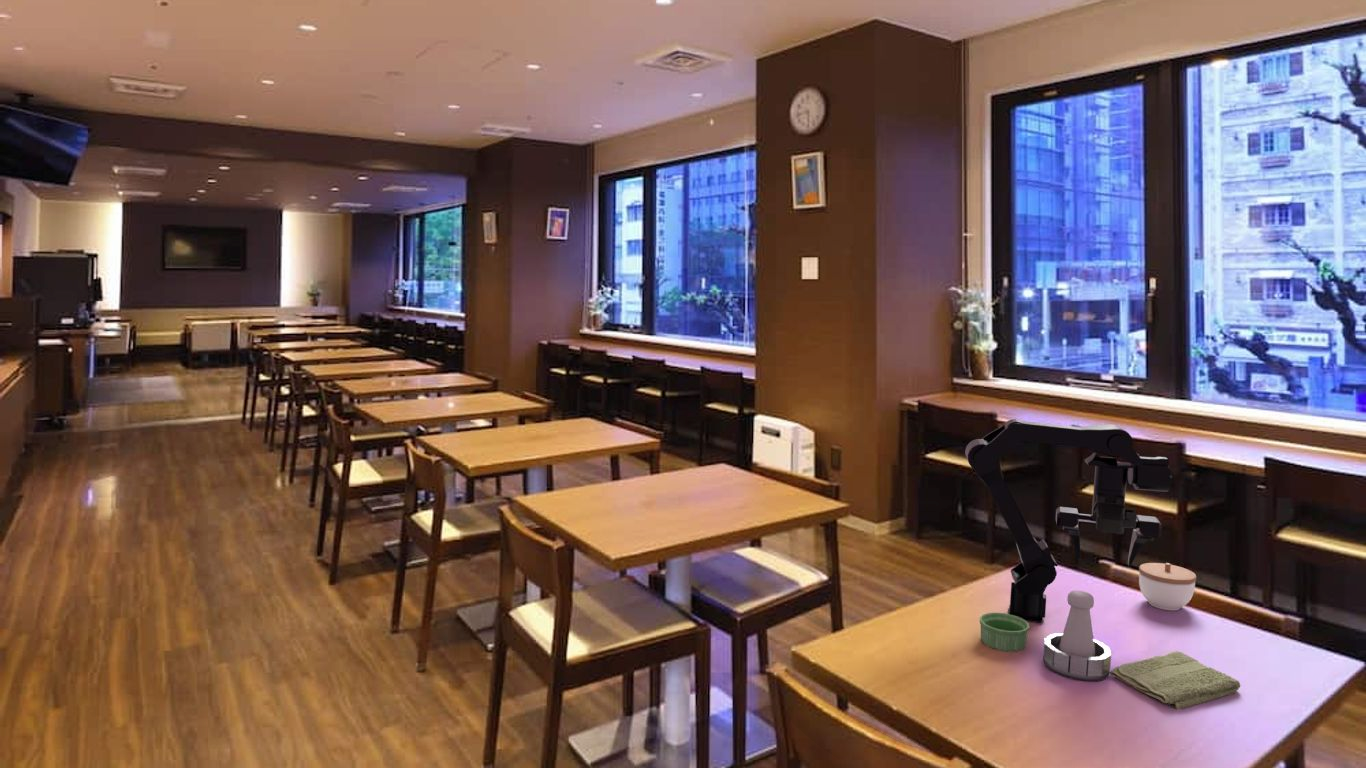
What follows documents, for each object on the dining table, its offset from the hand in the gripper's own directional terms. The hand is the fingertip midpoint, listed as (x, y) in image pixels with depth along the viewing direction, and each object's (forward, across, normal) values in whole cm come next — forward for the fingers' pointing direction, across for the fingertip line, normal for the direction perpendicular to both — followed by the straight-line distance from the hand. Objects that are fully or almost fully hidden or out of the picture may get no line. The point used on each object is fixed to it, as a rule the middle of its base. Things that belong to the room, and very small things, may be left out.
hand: (1103, 562), depth 166 cm
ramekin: (+13, -18, -18) cm, 29 cm away
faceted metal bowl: (+13, -6, -24) cm, 27 cm away
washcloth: (+14, +10, -24) cm, 29 cm away
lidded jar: (+13, +14, +17) cm, 26 cm away
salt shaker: (+12, -6, -23) cm, 27 cm away
